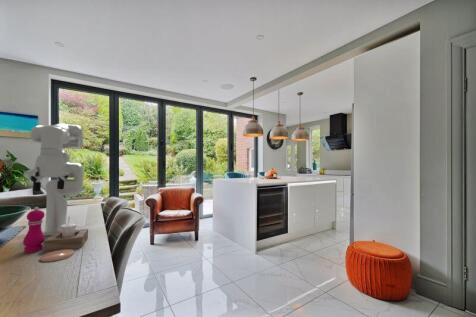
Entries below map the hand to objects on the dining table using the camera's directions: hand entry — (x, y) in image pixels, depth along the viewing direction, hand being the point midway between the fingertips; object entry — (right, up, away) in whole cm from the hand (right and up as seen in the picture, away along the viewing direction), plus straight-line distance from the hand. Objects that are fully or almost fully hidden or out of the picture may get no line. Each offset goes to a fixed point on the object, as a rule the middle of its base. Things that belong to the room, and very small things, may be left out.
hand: (49, 190), depth 95 cm
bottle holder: (+1, -29, +9) cm, 30 cm away
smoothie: (+1, -29, +9) cm, 30 cm away
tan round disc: (+9, -28, -5) cm, 30 cm away
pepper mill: (-8, -28, +1) cm, 30 cm away
